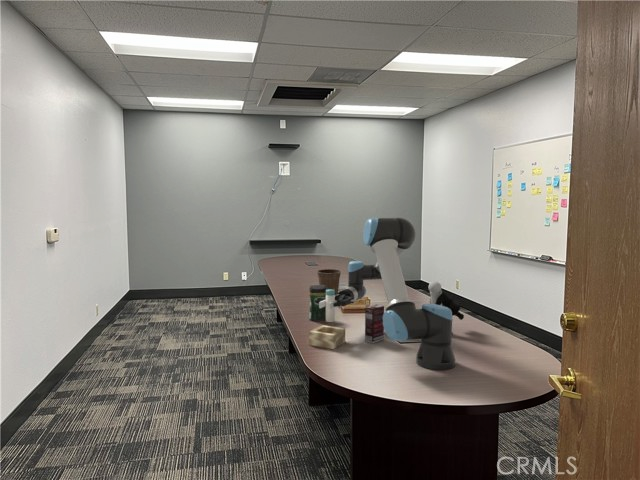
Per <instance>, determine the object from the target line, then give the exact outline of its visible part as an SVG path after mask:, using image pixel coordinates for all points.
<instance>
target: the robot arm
mask: <svg viewBox="0 0 640 480" xmlns="http://www.w3.org/2000/svg"><path fill="white" fill-rule="evenodd" d="M416 235H417V233H416V229H415V226H414V225H413V224H412V223H411V222H410V220H408V219H406V218H403V217H372V218H371V217H370V218H369V219H367V220H366V221H365V224H364V227H363V232H362V236H363V238H362V239H363V243H364V245H365V246H370V250H371V252H372V253H373V254H375V256H376V263H375V264H364V262H363V260H362V261H361V260H352V261H350V262H349V263H348V270H347V272H348V275H347V276H348V278H347V281H348V283H347V284H348V285H347V287H346V288H343V289H341V290H338V294H337V295H335V301H333V302H330V303H328V309H332V308H334V307H335V308H336V307H342V308H344V307H346V306H348V305H351V304H354V303H355V302H356V301H358V300H362V299H363V298H364V297H365V295H366V294H367V289H366V286H365V285H364V281H371V280H374V281H375V280H382V285H383V289H384V294H385V298H386V301H387V305H386V308H385V311H384V314H383V326H384V333H385V334H386V335H387V337H388V338H389V339H390V340H391V341H394V342H405V341H414V340H415V341H416V340H420V345H419V347H418V350H417V353H416V356H415V362H416V364H417V365H418V366H421V367H422V368H425V369H429V370H436V371H444V370H450V369H451V370H452V369H453V368H455V366H456V357H455V354H454V350H453V346H452V337H453V336H452V335H453V334H452V333H453V320H454V319H453V316H452V311H451V310H450V309H449V308H447V307H445V306H441V305H442V304H441V305H436V304H430V303H423V304H422V305H421V308H416V307H417V306H416V305H415V302H414V301H413V300H411V299H410V296H409V292H408V289H407V286H406V282H405V278H404V275H403V271H402V267H401V263H400V260H399V259H400V257H401V256H402V255H403V253H404V252H405V251H406V250H408V249H410V248H411V247H412V245H413V244H414V242H415V240H416ZM325 306H326V297H324V298H322V301H321V302H319V308H322V307H325Z"/></svg>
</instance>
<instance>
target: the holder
mask: <svg viewBox="0 0 640 480" xmlns="http://www.w3.org/2000/svg"><path fill="white" fill-rule="evenodd" d="M308 332H309V335H308V336H309V337H308V338H309V339H308V340H309V346H314V347H319V348H325V349H330V350H331V349H332V350H335V349H336V348H337V347H339V346H340V345H342V344H344V343H346V328H343V327H336V326H330V325H324V324H321V325H320V326H317V327H316V328H314V329H312V330H310V331H308Z"/></svg>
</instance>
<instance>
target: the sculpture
mask: <svg viewBox="0 0 640 480" xmlns="http://www.w3.org/2000/svg"><path fill="white" fill-rule="evenodd" d="M428 291H429V293H430V297H429V303H428V304H436V305H441V306H445V307H447V308H449V309H450V310H451V311H452V317H453V316H455V317H457V318H458V319H459V320H462V321H463V319H465V315H464V314H463V313H461V312H460V309H461V305H460V304H459V303H456V302H455V301H454V299H453V297H452V296H448V295H447V293H446V292H445V291H443V290H442V284H441V283H440V282H438V281H431V282H430V283H429V284H428Z"/></svg>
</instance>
